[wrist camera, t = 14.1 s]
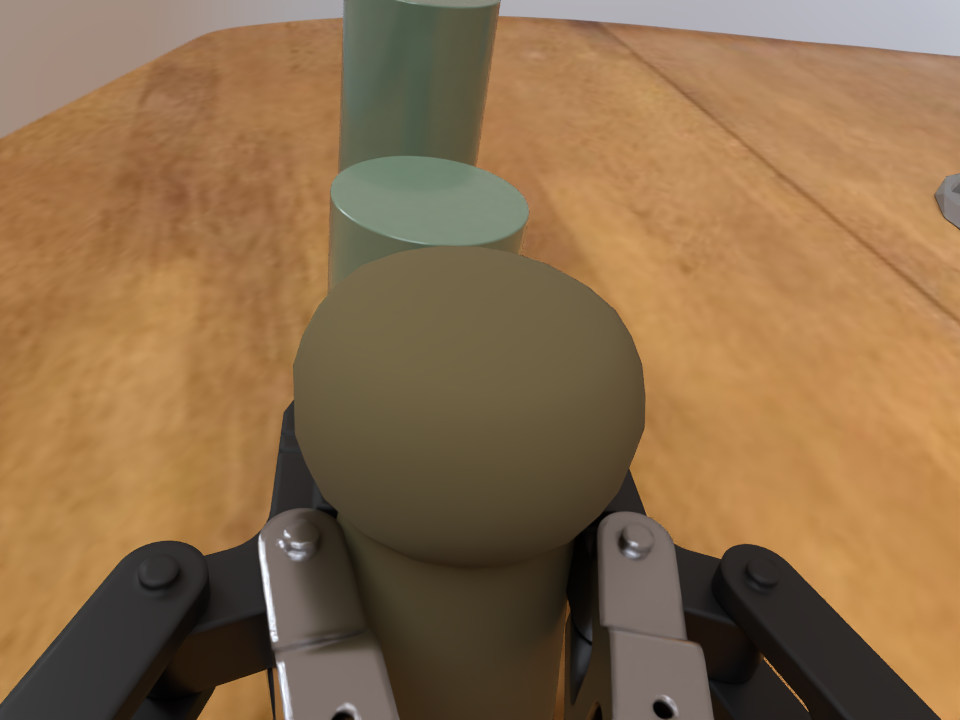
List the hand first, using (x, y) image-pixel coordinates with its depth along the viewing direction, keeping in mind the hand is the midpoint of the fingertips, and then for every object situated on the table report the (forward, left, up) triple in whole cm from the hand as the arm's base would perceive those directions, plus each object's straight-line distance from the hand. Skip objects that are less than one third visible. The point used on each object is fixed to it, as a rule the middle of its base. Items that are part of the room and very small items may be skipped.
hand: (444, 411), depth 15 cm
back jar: (0, +15, -7) cm, 17 cm away
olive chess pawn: (0, -3, -7) cm, 7 cm away
